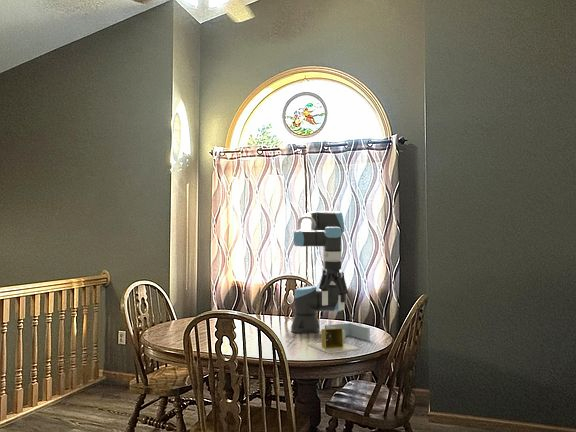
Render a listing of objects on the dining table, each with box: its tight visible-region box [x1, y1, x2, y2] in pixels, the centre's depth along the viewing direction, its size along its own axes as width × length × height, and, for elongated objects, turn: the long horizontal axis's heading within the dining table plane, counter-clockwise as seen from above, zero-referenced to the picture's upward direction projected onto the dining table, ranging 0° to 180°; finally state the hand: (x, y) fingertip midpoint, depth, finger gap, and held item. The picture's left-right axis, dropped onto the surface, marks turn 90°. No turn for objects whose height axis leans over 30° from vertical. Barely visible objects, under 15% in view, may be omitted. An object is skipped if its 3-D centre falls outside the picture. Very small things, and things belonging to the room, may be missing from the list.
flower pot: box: [320, 328, 343, 349], centre depth 239 cm, size 9×9×9 cm
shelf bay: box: [324, 322, 371, 344], centre depth 257 cm, size 16×15×6 cm
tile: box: [307, 342, 360, 354], centre depth 239 cm, size 18×16×1 cm
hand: (333, 307), depth 240 cm, fingers open, 13 cm apart
